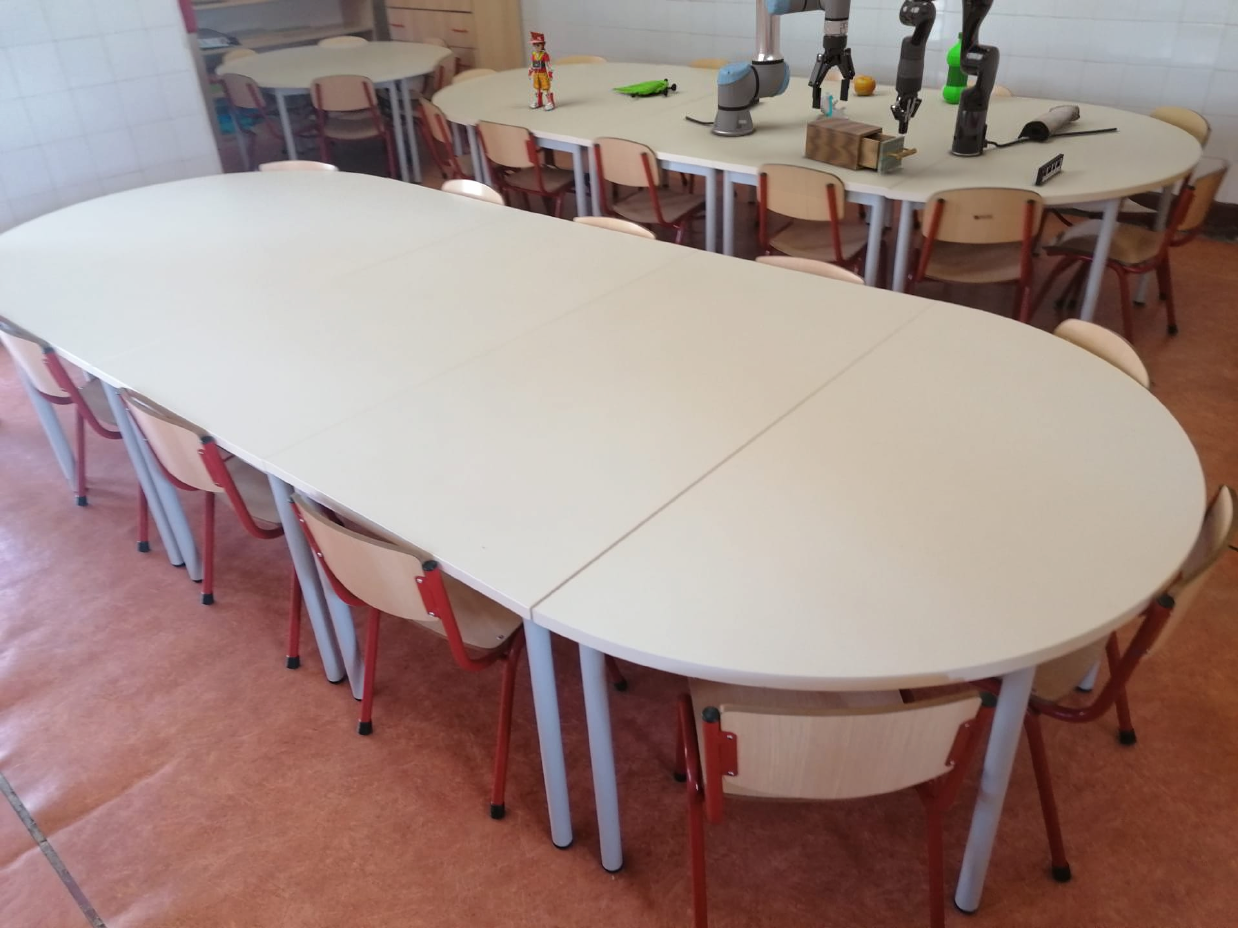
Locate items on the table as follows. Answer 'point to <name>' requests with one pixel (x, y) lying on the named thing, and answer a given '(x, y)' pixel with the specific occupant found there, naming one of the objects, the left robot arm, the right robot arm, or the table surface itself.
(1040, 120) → the rolled mat
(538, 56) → the toy
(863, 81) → the fruit
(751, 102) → the disk drive
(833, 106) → the anatomical model
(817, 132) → the cabinet
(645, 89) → the toy
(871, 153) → the drawer
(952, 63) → the plastic bottle
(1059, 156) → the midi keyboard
